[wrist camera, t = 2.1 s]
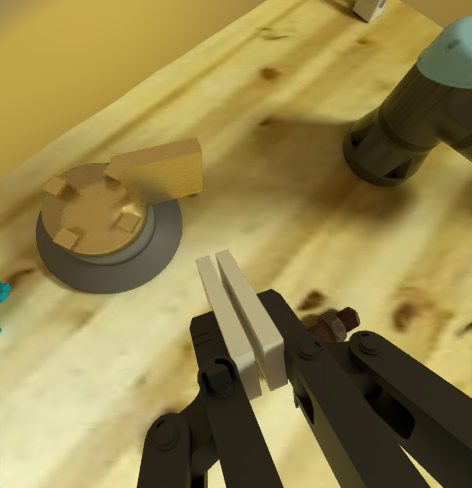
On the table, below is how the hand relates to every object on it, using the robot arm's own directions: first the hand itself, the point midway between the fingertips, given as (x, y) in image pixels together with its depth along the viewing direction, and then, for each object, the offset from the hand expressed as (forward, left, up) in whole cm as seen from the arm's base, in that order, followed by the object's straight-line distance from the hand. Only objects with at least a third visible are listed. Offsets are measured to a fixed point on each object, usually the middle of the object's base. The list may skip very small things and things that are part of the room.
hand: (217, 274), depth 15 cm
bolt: (-7, +15, -29) cm, 33 cm away
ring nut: (-1, -18, -23) cm, 29 cm away
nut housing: (+2, -20, -28) cm, 35 cm away
